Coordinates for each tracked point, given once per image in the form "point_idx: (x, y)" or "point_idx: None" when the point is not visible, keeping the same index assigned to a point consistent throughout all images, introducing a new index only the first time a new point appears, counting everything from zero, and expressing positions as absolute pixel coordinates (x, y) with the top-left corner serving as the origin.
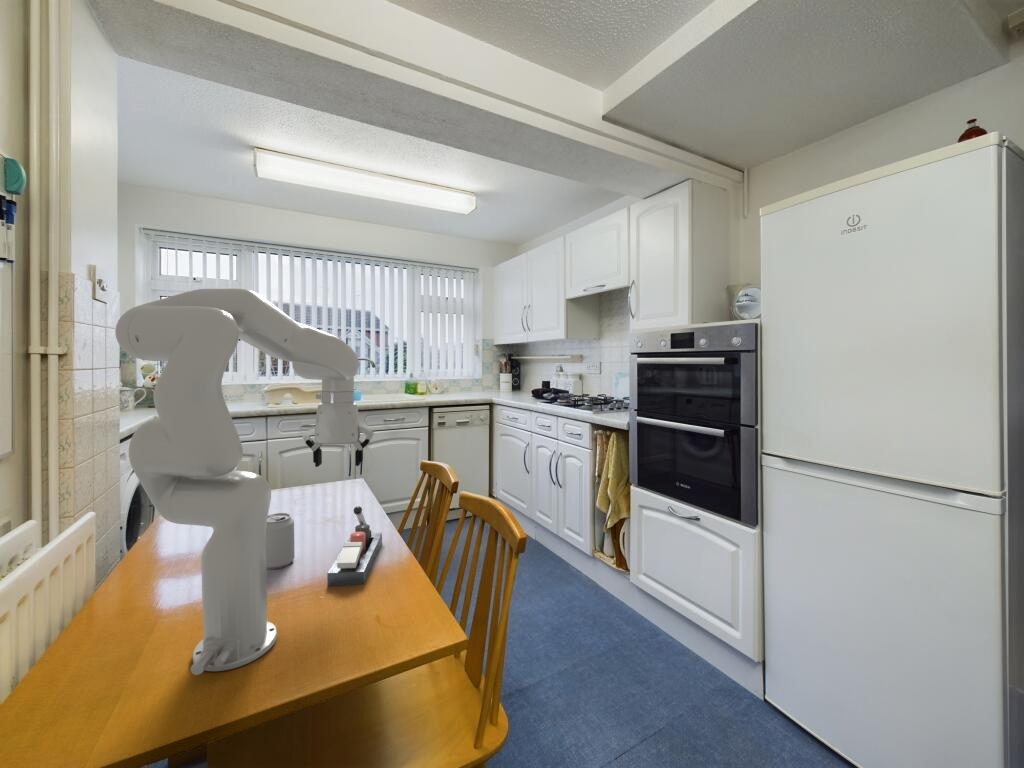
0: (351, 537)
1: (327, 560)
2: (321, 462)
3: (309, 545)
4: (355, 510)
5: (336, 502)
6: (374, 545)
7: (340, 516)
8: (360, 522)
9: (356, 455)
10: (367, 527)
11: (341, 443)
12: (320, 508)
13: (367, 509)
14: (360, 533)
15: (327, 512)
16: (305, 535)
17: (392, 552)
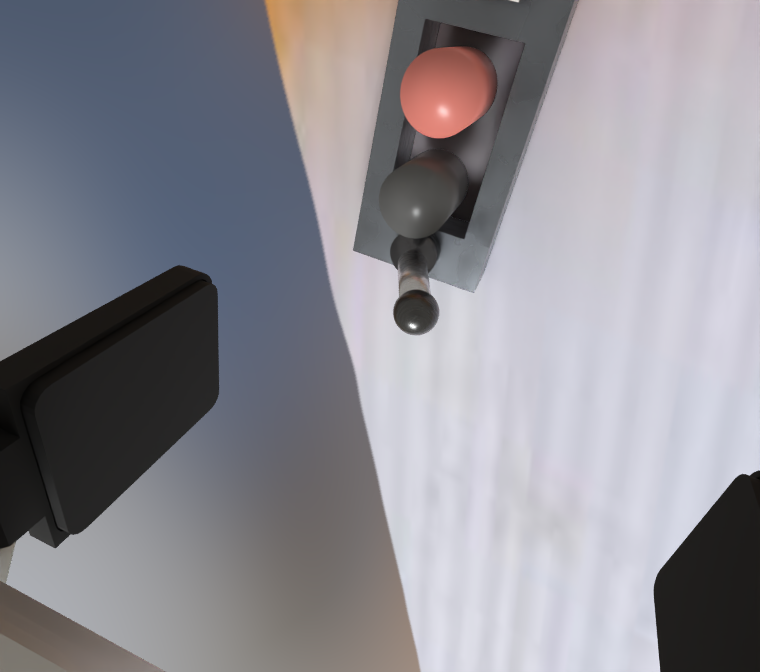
0: (475, 69)
1: (604, 145)
2: (661, 589)
3: (661, 336)
4: (426, 300)
5: (510, 639)
6: (384, 117)
7: (507, 532)
8: (421, 269)
9: (80, 337)
10: (389, 182)
11: (48, 634)
12: (570, 626)
13: (412, 537)
14: (425, 104)
15: (549, 584)
16: (662, 438)
17: (332, 130)
